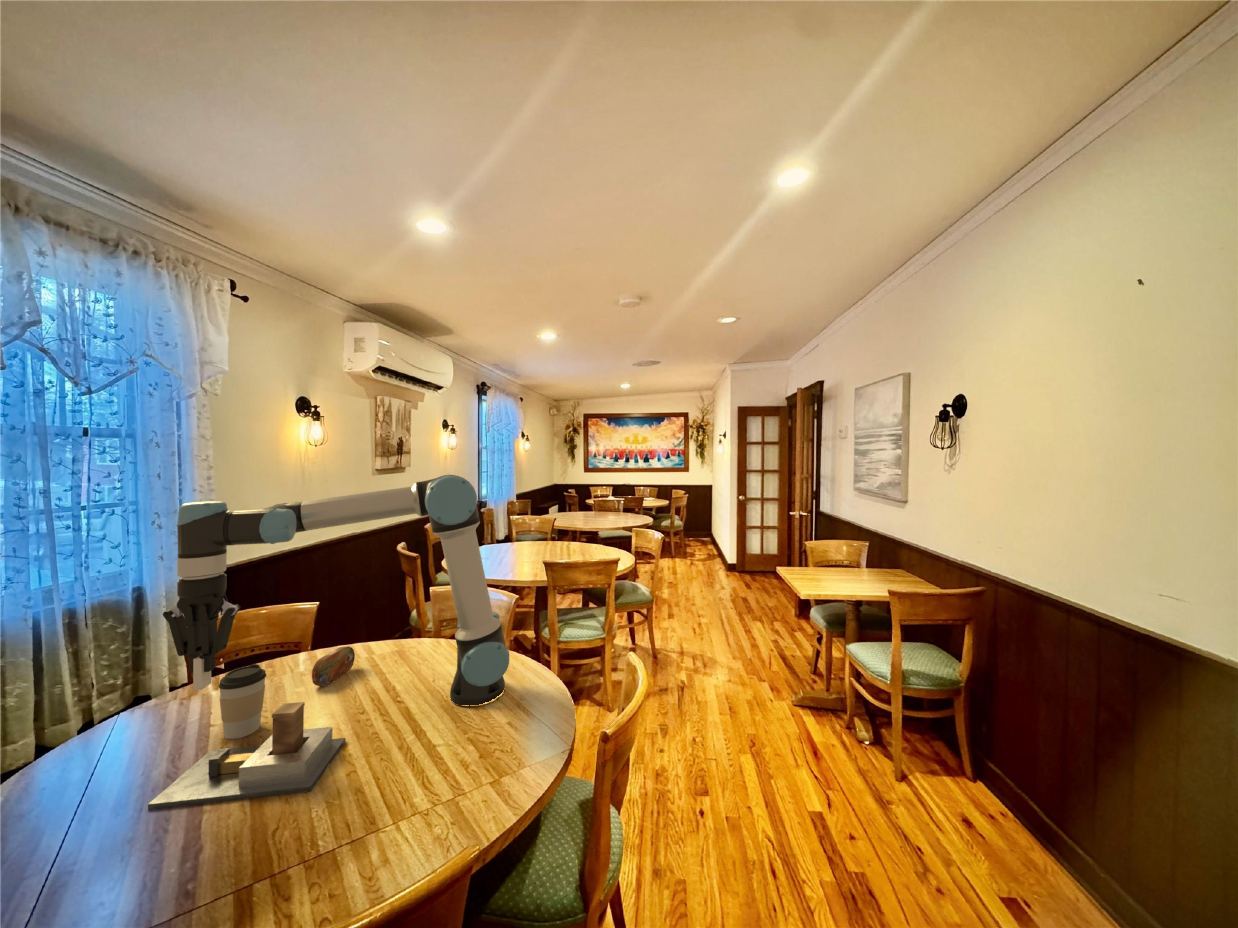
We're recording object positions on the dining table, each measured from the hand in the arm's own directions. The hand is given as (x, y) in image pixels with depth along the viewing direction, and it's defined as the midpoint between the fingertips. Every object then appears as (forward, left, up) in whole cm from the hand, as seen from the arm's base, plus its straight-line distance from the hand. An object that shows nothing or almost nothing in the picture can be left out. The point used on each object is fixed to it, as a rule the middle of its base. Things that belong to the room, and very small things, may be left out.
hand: (202, 686), depth 92 cm
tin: (-8, -42, -19) cm, 47 cm away
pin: (-8, 0, -18) cm, 20 cm away
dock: (-11, 0, -19) cm, 22 cm away
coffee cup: (+2, -17, -19) cm, 26 cm away
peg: (-16, 0, -18) cm, 24 cm away
